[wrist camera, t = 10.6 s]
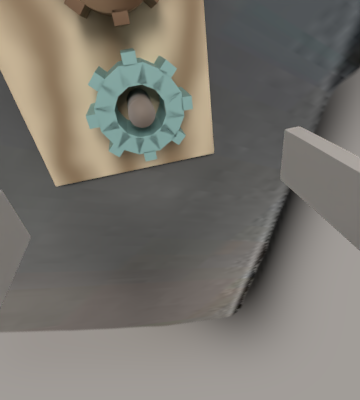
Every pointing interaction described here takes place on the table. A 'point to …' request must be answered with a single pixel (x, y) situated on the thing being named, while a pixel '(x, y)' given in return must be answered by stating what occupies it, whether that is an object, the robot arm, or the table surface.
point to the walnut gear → (108, 8)
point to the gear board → (83, 71)
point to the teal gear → (121, 127)
